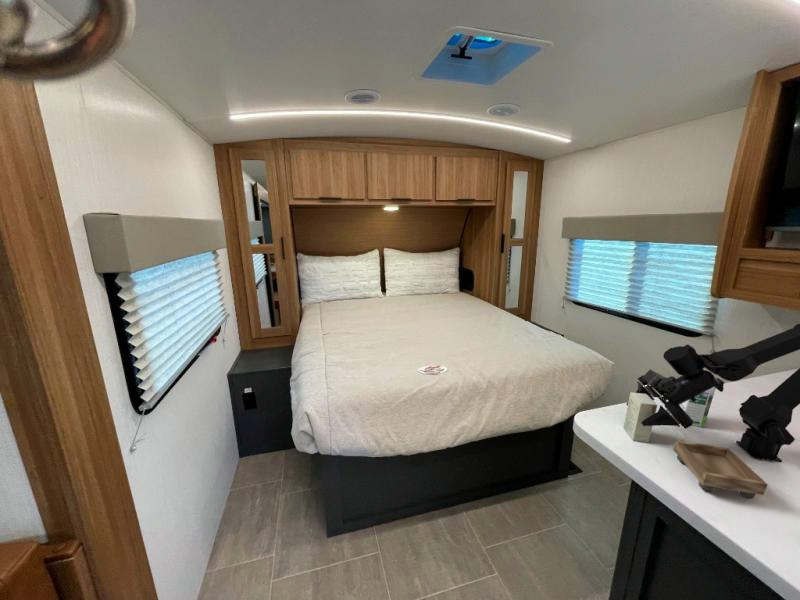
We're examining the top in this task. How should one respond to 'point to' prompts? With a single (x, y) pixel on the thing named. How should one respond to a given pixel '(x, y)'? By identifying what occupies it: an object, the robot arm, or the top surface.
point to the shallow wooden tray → (719, 469)
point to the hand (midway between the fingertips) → (634, 414)
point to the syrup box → (699, 407)
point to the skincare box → (639, 416)
